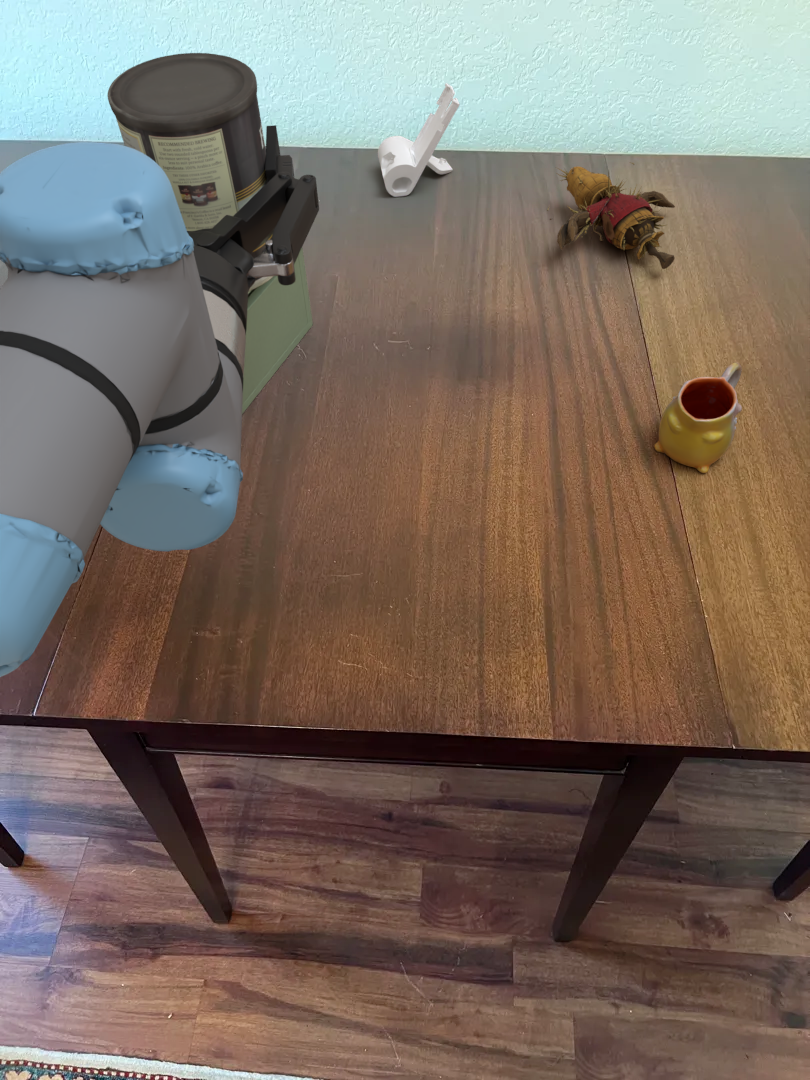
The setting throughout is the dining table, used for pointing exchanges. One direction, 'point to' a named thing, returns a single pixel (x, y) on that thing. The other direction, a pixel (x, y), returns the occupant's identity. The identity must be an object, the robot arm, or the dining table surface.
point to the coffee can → (197, 132)
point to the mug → (701, 420)
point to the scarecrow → (614, 214)
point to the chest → (274, 328)
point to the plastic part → (417, 149)
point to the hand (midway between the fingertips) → (206, 146)
